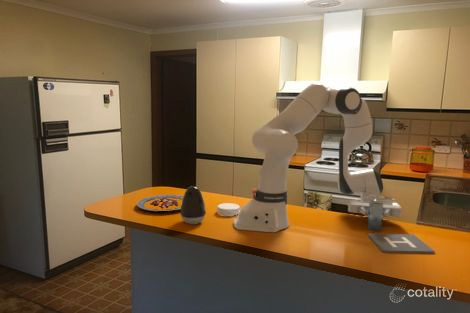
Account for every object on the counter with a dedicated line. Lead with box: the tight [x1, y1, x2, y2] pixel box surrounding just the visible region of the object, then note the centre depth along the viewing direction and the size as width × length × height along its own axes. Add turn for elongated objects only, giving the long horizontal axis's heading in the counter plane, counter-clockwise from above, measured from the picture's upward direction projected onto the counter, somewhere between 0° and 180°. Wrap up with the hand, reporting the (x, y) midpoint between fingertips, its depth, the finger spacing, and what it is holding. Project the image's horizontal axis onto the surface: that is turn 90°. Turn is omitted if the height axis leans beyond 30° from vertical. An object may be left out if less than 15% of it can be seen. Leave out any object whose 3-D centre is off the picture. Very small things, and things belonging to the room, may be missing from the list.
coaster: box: [216, 202, 241, 217], centre depth 161 cm, size 10×10×4 cm
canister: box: [367, 198, 383, 233], centre depth 141 cm, size 5×5×12 cm
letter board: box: [367, 233, 436, 255], centre depth 128 cm, size 17×15×1 cm
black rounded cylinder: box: [180, 185, 207, 225], centre depth 147 cm, size 10×10×15 cm
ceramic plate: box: [136, 194, 184, 212], centre depth 170 cm, size 26×26×3 cm
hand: (375, 214), depth 140 cm, fingers open, 6 cm apart
